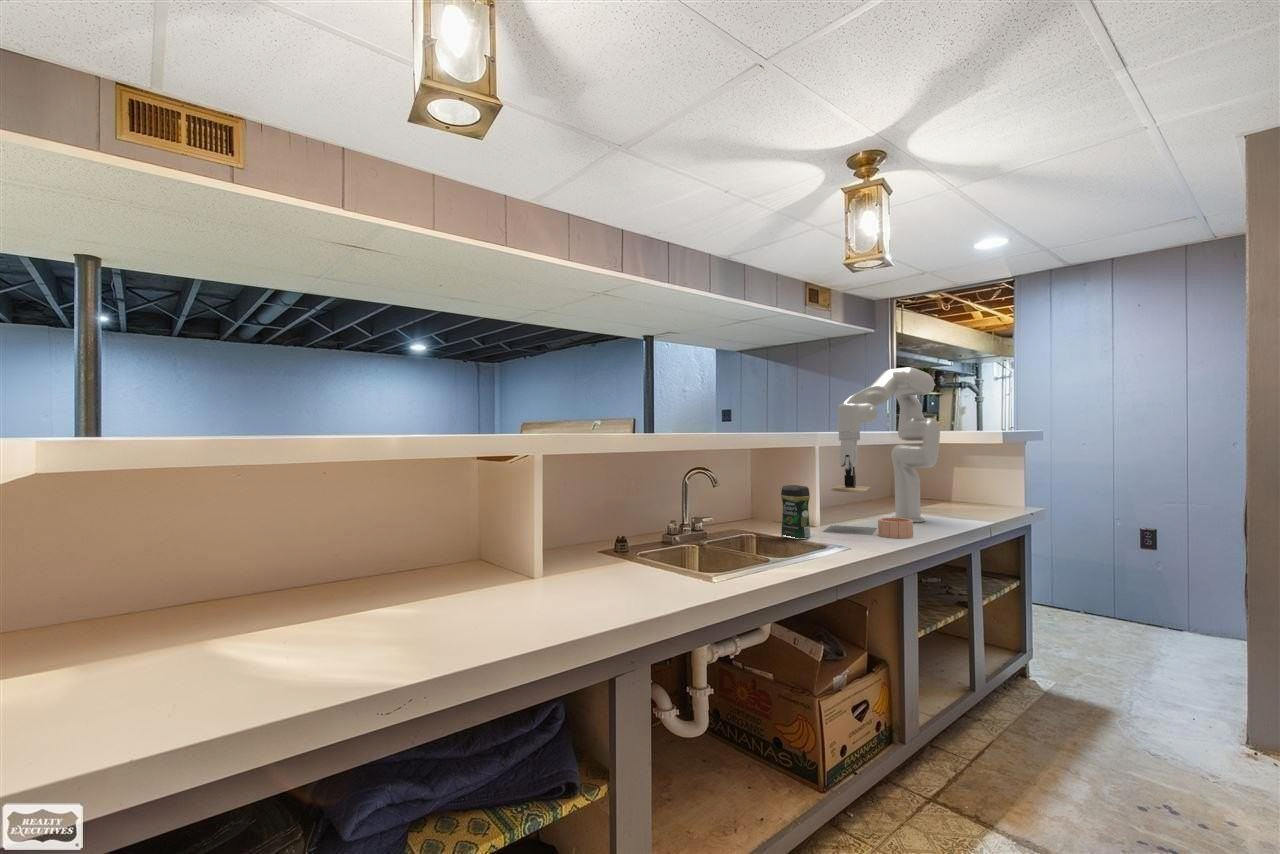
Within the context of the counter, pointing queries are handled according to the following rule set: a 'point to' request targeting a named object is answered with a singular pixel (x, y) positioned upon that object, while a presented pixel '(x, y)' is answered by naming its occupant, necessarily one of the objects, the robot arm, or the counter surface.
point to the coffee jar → (795, 511)
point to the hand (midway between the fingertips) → (850, 485)
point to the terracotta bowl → (895, 527)
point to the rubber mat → (851, 529)
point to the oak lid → (850, 488)
